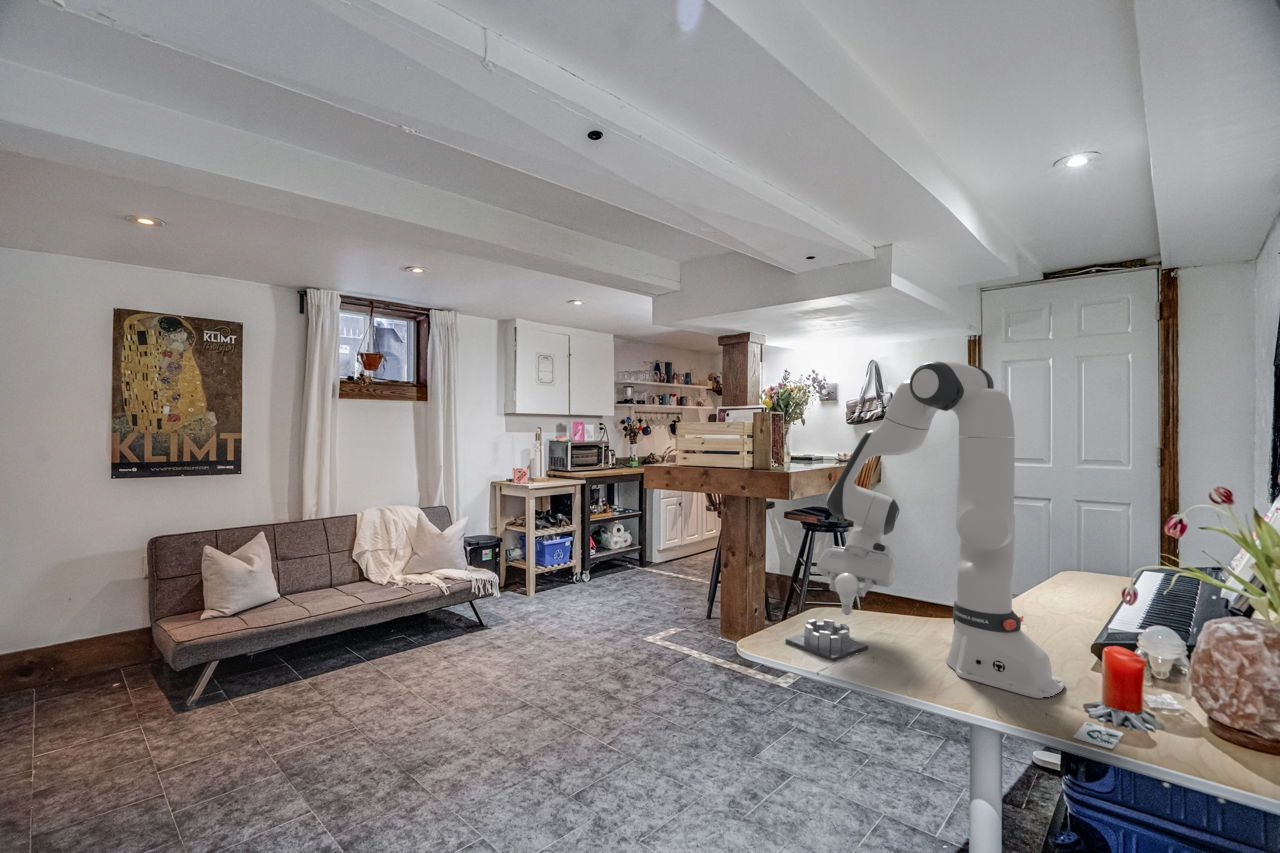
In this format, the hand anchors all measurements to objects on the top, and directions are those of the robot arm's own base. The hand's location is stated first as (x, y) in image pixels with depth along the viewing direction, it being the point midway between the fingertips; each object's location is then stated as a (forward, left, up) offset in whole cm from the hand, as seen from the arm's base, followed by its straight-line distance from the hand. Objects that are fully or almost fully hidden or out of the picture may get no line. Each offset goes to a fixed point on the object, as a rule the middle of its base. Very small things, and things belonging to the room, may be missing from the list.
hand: (846, 592), depth 157 cm
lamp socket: (-3, +13, -10) cm, 17 cm away
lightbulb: (0, -1, -6) cm, 6 cm away
